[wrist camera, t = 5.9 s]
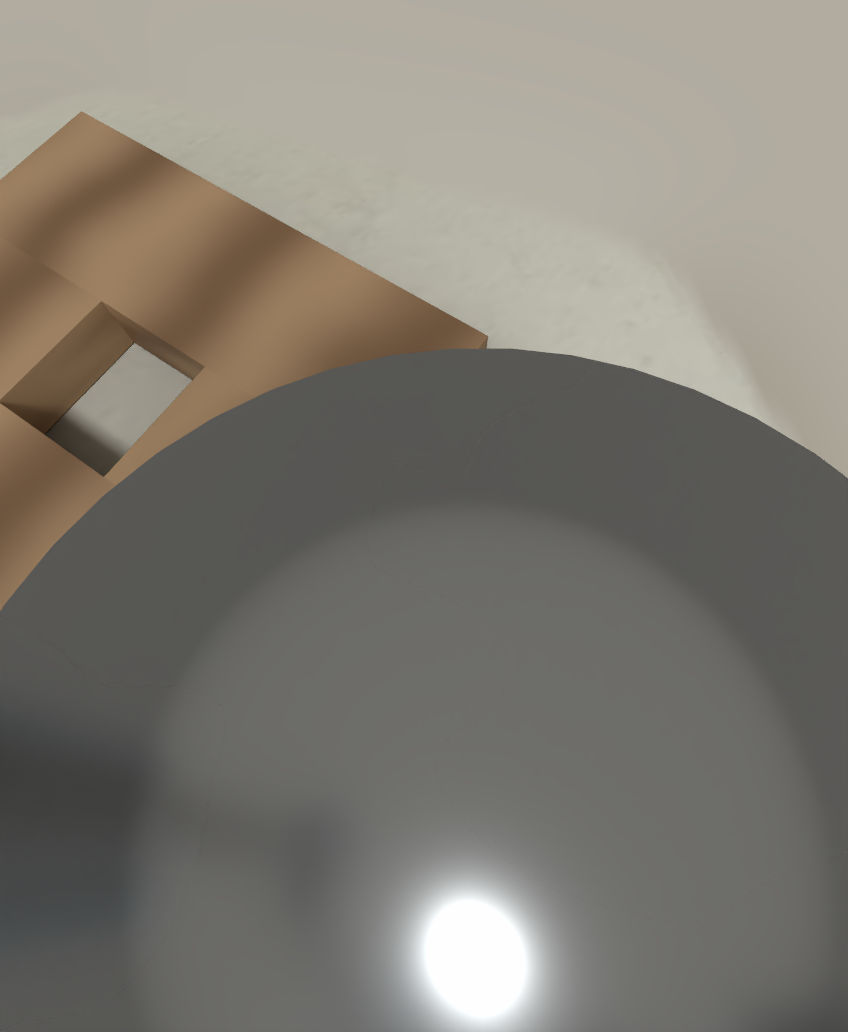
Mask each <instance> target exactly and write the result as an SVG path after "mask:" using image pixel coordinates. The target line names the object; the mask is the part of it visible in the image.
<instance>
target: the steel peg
mask: <svg viewBox="0 0 848 1032" xmlns="http://www.w3.org/2000/svg"><path fill="white" fill-rule="evenodd" d="M0 1032H848V478H847V477H845V476H844V475H843V474H841V473H840V472H838V471H837V470H836V469H835V468H833V467H832V466H831V465H829V464H828V463H827V462H825V461H824V460H822V459H821V458H820V457H819V456H817V455H816V454H815V453H813V452H811V451H810V450H808V449H806V448H805V447H803V446H801V445H800V444H798V443H796V442H795V441H793V440H791V439H790V438H788V437H786V436H785V435H783V434H781V433H780V432H778V431H776V430H775V429H773V428H771V427H770V426H768V425H766V424H765V423H763V422H761V421H760V420H758V419H756V418H754V417H752V416H750V415H748V414H746V413H744V412H741V411H739V410H737V409H735V408H733V407H731V406H728V405H726V404H724V403H722V402H720V401H718V400H715V399H713V398H711V397H709V396H707V395H705V394H703V393H700V392H698V391H696V390H694V389H691V388H688V387H685V386H682V385H679V384H676V383H673V382H670V381H667V380H664V379H661V378H658V377H655V376H652V375H649V374H647V373H644V372H641V371H638V370H635V369H631V368H626V367H622V366H617V365H613V364H608V363H604V362H599V361H595V360H590V359H586V358H581V357H577V356H572V355H564V354H555V353H546V352H536V351H527V350H518V349H444V350H435V351H426V352H417V353H408V354H400V355H391V356H386V357H381V358H377V359H373V360H368V361H364V362H360V363H355V364H351V365H346V366H342V367H338V368H333V369H329V370H326V371H323V372H321V373H318V374H315V375H312V376H309V377H306V378H304V379H301V380H298V381H295V382H292V383H289V384H286V385H284V386H281V387H278V388H275V389H272V390H270V391H268V392H266V393H263V394H261V395H259V396H257V397H255V398H253V399H251V400H249V401H247V402H245V403H243V404H241V405H239V406H236V407H234V408H232V409H230V410H228V411H226V412H224V413H222V414H220V415H218V416H216V417H214V418H212V419H210V420H209V421H207V422H206V423H204V424H202V425H201V426H199V427H198V428H196V429H194V430H193V431H191V432H190V433H188V434H186V435H185V436H183V437H182V438H180V439H178V440H177V441H175V442H174V443H172V444H170V445H169V446H167V447H166V448H164V449H162V450H161V451H159V452H158V453H156V454H155V455H154V456H153V457H151V458H150V459H149V460H148V461H146V462H145V463H144V464H143V465H141V466H140V467H139V468H137V469H136V470H135V471H134V472H132V473H131V474H130V475H129V476H127V477H126V478H125V479H124V480H122V481H121V482H120V483H118V484H117V485H116V486H115V487H113V488H112V489H111V490H110V491H108V492H107V493H106V494H105V495H103V496H102V497H101V498H100V499H99V500H98V501H97V502H96V503H95V504H94V505H93V506H92V507H91V508H90V509H89V510H88V511H87V512H86V513H85V514H84V515H83V516H82V517H81V518H80V519H79V520H78V521H77V522H76V523H75V524H74V525H73V526H72V527H71V528H70V529H69V530H68V531H67V532H66V533H65V534H64V535H63V536H62V537H61V538H60V539H59V540H58V541H57V542H56V543H55V544H54V545H53V546H52V547H51V548H50V549H49V551H48V552H47V553H46V554H45V556H44V557H43V558H42V559H41V560H40V562H39V563H38V564H37V565H36V567H35V568H34V569H33V570H32V571H31V573H30V574H29V575H28V576H27V578H26V579H25V580H24V581H23V582H22V584H21V585H20V586H19V587H18V588H17V590H16V591H15V592H14V593H13V595H12V596H11V597H10V598H9V599H8V601H7V602H6V603H5V605H4V606H3V608H2V609H1V611H0Z"/></svg>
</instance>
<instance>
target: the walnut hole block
mask: <svg viewBox="0 0 848 1032" xmlns="http://www.w3.org/2000/svg"><path fill="white" fill-rule="evenodd" d="M487 340H488V336H487V335H485V334H483V333H481V332H480V331H478V330H476V329H474V328H472V327H471V326H469V325H467V324H465V323H463V322H461V321H460V320H458V319H456V318H454V317H452V316H451V315H449V314H447V313H445V312H443V311H442V310H440V309H438V308H436V307H434V306H433V305H431V304H429V303H427V302H425V301H424V300H422V299H420V298H418V297H416V296H414V295H413V294H411V293H409V292H407V291H405V290H404V289H402V288H400V287H398V286H396V285H395V284H393V283H391V282H389V281H387V280H386V279H384V278H382V277H380V276H378V275H377V274H375V273H373V272H371V271H369V270H367V269H366V268H364V267H362V266H360V265H358V264H357V263H355V262H353V261H351V260H349V259H348V258H346V257H344V256H342V255H340V254H339V253H337V252H335V251H333V250H331V249H330V248H328V247H326V246H324V245H322V244H320V243H319V242H317V241H315V240H313V239H311V238H310V237H308V236H306V235H304V234H302V233H301V232H299V231H297V230H295V229H293V228H292V227H290V226H288V225H286V224H284V223H283V222H281V221H279V220H277V219H275V218H273V217H272V216H270V215H268V214H266V213H264V212H263V211H261V210H259V209H257V208H255V207H254V206H252V205H250V204H248V203H246V202H245V201H243V200H241V199H239V198H237V197H236V196H234V195H232V194H230V193H228V192H226V191H225V190H223V189H221V188H219V187H217V186H216V185H214V184H212V183H210V182H208V181H207V180H205V179H203V178H201V177H199V176H198V175H196V174H194V173H192V172H190V171H189V170H187V169H185V168H183V167H181V166H179V165H178V164H176V163H174V162H172V161H170V160H169V159H167V158H165V157H163V156H161V155H160V154H158V153H156V152H154V151H152V150H151V149H149V148H147V147H145V146H143V145H142V144H140V143H138V142H136V141H134V140H132V139H131V138H129V137H127V136H125V135H123V134H122V133H120V132H118V131H116V130H114V129H113V128H111V127H109V126H107V125H105V124H104V123H102V122H100V121H98V120H96V119H95V118H93V117H91V116H89V115H87V114H85V113H84V112H82V111H81V112H80V113H79V114H78V115H77V116H75V117H74V118H73V119H72V120H71V121H69V122H68V123H67V124H66V125H65V126H64V127H62V128H61V129H60V130H59V131H58V132H56V133H55V134H54V135H53V136H52V137H51V138H49V139H48V140H47V141H46V142H45V143H43V144H42V145H41V146H40V147H39V148H38V149H36V150H35V151H34V152H33V153H32V154H30V155H29V156H28V157H27V158H26V159H25V160H23V161H22V162H21V163H20V164H19V165H17V166H16V167H15V168H14V169H13V170H12V171H10V172H9V173H8V174H7V175H6V176H5V177H3V178H2V179H1V180H0V611H1V609H2V608H3V606H4V605H5V603H6V602H7V601H8V599H9V598H10V597H11V596H12V595H13V593H14V592H15V591H16V590H17V588H18V587H19V586H20V585H21V584H22V582H23V581H24V580H25V579H26V578H27V576H28V575H29V574H30V573H31V571H32V570H33V569H34V568H35V567H36V565H37V564H38V563H39V562H40V560H41V559H42V558H43V557H44V556H45V554H46V553H47V552H48V551H49V549H50V548H51V547H52V546H53V545H54V544H55V543H56V542H57V541H58V540H59V539H60V538H61V537H62V536H63V535H64V534H65V533H66V532H67V531H68V530H69V529H70V528H71V527H72V526H73V525H74V524H75V523H76V522H77V521H78V520H79V519H80V518H81V517H82V516H83V515H84V514H85V513H86V512H87V511H88V510H89V509H90V508H91V507H92V506H93V505H94V504H95V503H96V502H97V501H98V500H99V499H100V498H101V497H102V496H103V495H105V494H106V493H107V492H108V491H110V490H111V489H112V488H113V487H115V486H116V485H117V484H118V483H120V482H121V481H122V480H124V479H125V478H126V477H127V476H129V475H130V474H131V473H132V472H134V471H135V470H136V469H137V468H139V467H140V466H141V465H143V464H144V463H145V462H146V461H148V460H149V459H150V458H151V457H153V456H154V455H155V454H156V453H158V452H159V451H161V450H162V449H164V448H166V447H167V446H169V445H170V444H172V443H174V442H175V441H177V440H178V439H180V438H182V437H183V436H185V435H186V434H188V433H190V432H191V431H193V430H194V429H196V428H198V427H199V426H201V425H202V424H204V423H206V422H207V421H209V420H210V419H212V418H214V417H216V416H218V415H220V414H222V413H224V412H226V411H228V410H230V409H232V408H234V407H236V406H239V405H241V404H243V403H245V402H247V401H249V400H251V399H253V398H255V397H257V396H259V395H261V394H263V393H266V392H268V391H270V390H272V389H275V388H278V387H281V386H284V385H286V384H289V383H292V382H295V381H298V380H301V379H304V378H306V377H309V376H312V375H315V374H318V373H321V372H323V371H326V370H329V369H333V368H338V367H342V366H346V365H351V364H355V363H360V362H364V361H368V360H373V359H377V358H381V357H386V356H391V355H400V354H408V353H417V352H426V351H435V350H444V349H486V347H487ZM133 343H136V344H137V345H139V346H141V347H142V348H144V349H145V350H147V351H148V352H150V353H151V354H153V355H155V356H156V357H158V358H159V359H161V360H162V361H164V362H165V363H167V364H168V365H170V366H172V367H173V368H175V369H176V370H178V371H179V372H181V373H182V374H184V375H186V376H187V377H189V378H190V379H192V380H193V381H192V382H191V383H190V384H189V385H188V386H187V387H186V388H185V389H184V390H183V391H182V393H181V394H180V395H179V396H178V397H177V398H176V399H175V400H174V401H173V402H172V403H171V405H170V406H169V407H168V408H167V409H166V410H165V411H164V412H163V413H162V414H161V415H160V416H159V418H158V419H157V420H156V421H155V422H154V423H153V424H152V425H151V426H150V427H149V428H148V430H147V431H146V432H145V433H144V434H143V435H142V436H141V437H140V438H139V439H138V440H137V442H136V443H135V444H134V445H133V446H132V447H131V448H130V449H129V450H128V451H127V452H126V454H125V455H124V456H123V457H122V458H121V459H120V460H119V461H118V462H117V463H116V464H115V466H114V467H113V468H112V469H111V470H110V471H109V472H108V473H107V474H106V475H105V476H104V477H103V476H102V475H100V474H99V473H97V472H96V471H95V470H93V469H92V468H90V467H89V466H88V465H86V464H85V463H83V462H82V461H81V460H79V459H78V458H76V457H75V456H74V455H72V454H71V453H69V452H68V451H67V450H65V449H64V448H62V447H61V446H60V445H58V444H57V443H55V442H54V441H53V440H51V439H50V438H48V437H47V436H46V435H44V434H45V433H46V432H47V431H48V430H49V429H50V428H51V427H52V426H53V425H54V424H55V423H56V422H57V421H58V420H59V419H60V418H61V417H62V416H63V415H64V414H65V413H66V411H67V410H68V409H69V408H70V407H71V406H72V405H73V404H74V403H75V402H76V401H77V400H78V399H79V398H80V397H81V396H82V395H83V394H84V393H85V392H86V391H87V390H88V389H89V388H90V387H91V386H92V385H93V384H94V383H95V382H96V381H97V380H98V379H99V378H100V377H101V376H102V375H103V374H104V373H105V372H106V371H107V370H108V368H109V367H110V366H111V365H112V364H113V363H114V362H115V361H116V360H117V359H118V358H119V357H120V356H121V355H122V354H123V353H124V352H125V351H126V350H127V349H128V348H129V347H130V346H131V345H132V344H133Z"/></svg>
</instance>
